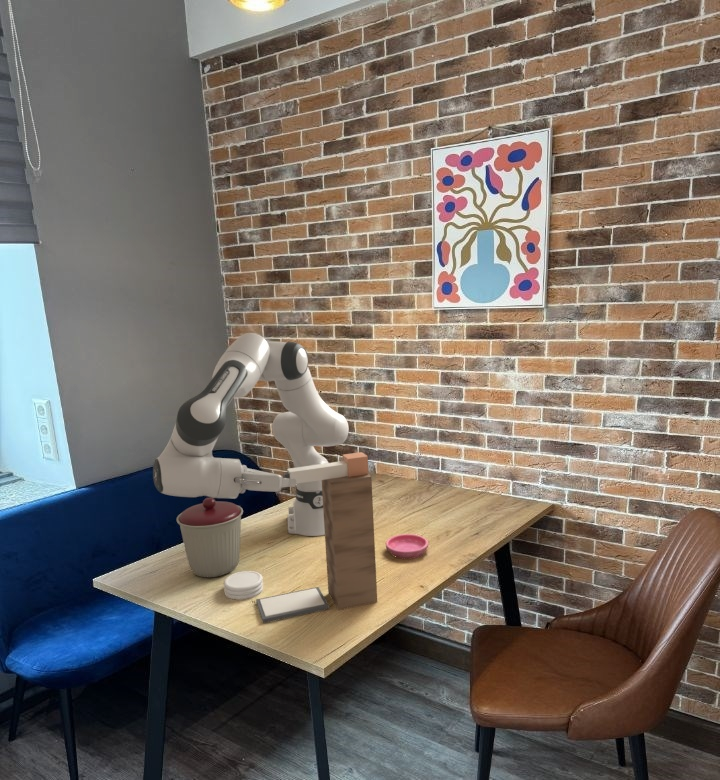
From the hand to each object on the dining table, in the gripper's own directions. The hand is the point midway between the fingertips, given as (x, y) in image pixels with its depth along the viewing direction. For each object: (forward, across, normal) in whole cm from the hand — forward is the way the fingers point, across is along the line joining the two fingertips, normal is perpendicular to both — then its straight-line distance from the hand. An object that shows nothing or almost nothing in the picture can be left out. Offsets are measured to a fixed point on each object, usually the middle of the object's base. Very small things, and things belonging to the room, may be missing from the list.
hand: (288, 481), depth 138 cm
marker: (+9, 0, -1) cm, 9 cm away
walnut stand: (+21, +5, +28) cm, 36 cm away
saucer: (+45, +20, +20) cm, 54 cm away
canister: (-6, +39, +28) cm, 49 cm away
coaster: (-2, +23, +30) cm, 38 cm away
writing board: (+7, +9, +31) cm, 33 cm away
